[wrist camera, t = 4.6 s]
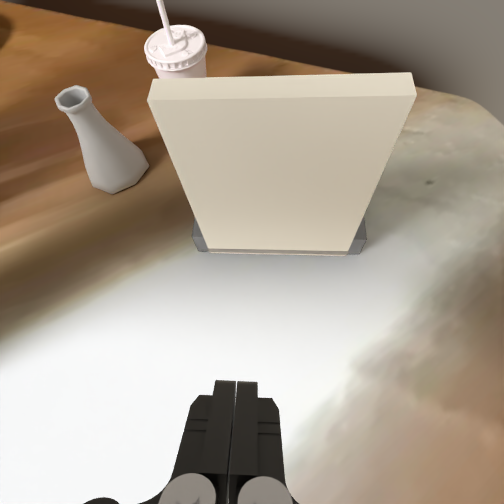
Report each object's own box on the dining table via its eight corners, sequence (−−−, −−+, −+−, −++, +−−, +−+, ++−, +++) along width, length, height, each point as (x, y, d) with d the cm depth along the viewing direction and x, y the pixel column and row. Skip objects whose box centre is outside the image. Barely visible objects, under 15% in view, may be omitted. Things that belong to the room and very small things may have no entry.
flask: (111, 205, 37) (58, 137, 28) (77, 172, 39) (18, 100, 30) (160, 167, 39) (126, 92, 30) (125, 138, 41) (83, 61, 32)
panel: (209, 253, 29) (145, 101, 15) (211, 238, 30) (152, 78, 16) (346, 256, 28) (418, 96, 14) (345, 240, 29) (412, 71, 15)
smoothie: (162, 132, 41) (113, 10, 29) (181, 98, 44) (144, -28, 31) (210, 141, 40) (180, 17, 27) (226, 105, 43) (206, -23, 30)
